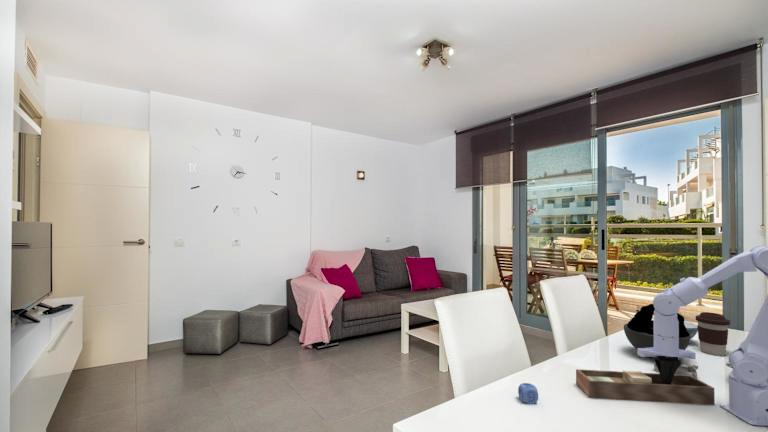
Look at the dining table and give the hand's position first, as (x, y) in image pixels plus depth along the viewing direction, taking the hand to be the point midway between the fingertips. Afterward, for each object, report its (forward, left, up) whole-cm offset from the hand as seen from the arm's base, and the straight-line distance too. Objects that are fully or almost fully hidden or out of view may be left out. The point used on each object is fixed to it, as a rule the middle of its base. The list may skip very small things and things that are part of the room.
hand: (666, 382), depth 102 cm
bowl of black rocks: (+33, -18, -4) cm, 38 cm away
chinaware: (+55, -40, -4) cm, 68 cm away
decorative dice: (-8, +41, -4) cm, 42 cm away
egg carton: (+16, -14, -4) cm, 22 cm away
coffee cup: (+41, -44, -4) cm, 60 cm away
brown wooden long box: (0, +7, -4) cm, 8 cm away
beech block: (0, +8, -1) cm, 8 cm away
